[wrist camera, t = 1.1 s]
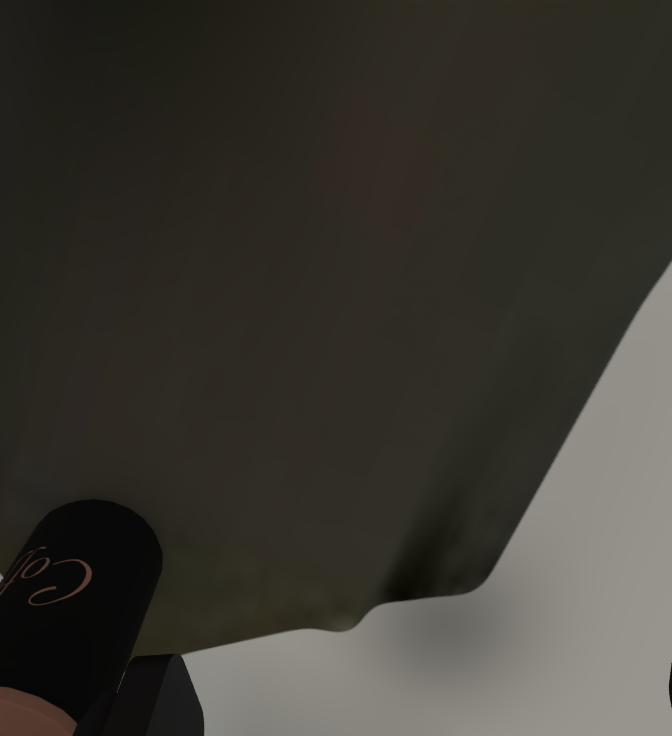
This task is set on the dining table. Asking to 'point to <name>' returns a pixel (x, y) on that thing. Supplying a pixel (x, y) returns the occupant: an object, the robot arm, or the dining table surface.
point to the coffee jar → (72, 614)
